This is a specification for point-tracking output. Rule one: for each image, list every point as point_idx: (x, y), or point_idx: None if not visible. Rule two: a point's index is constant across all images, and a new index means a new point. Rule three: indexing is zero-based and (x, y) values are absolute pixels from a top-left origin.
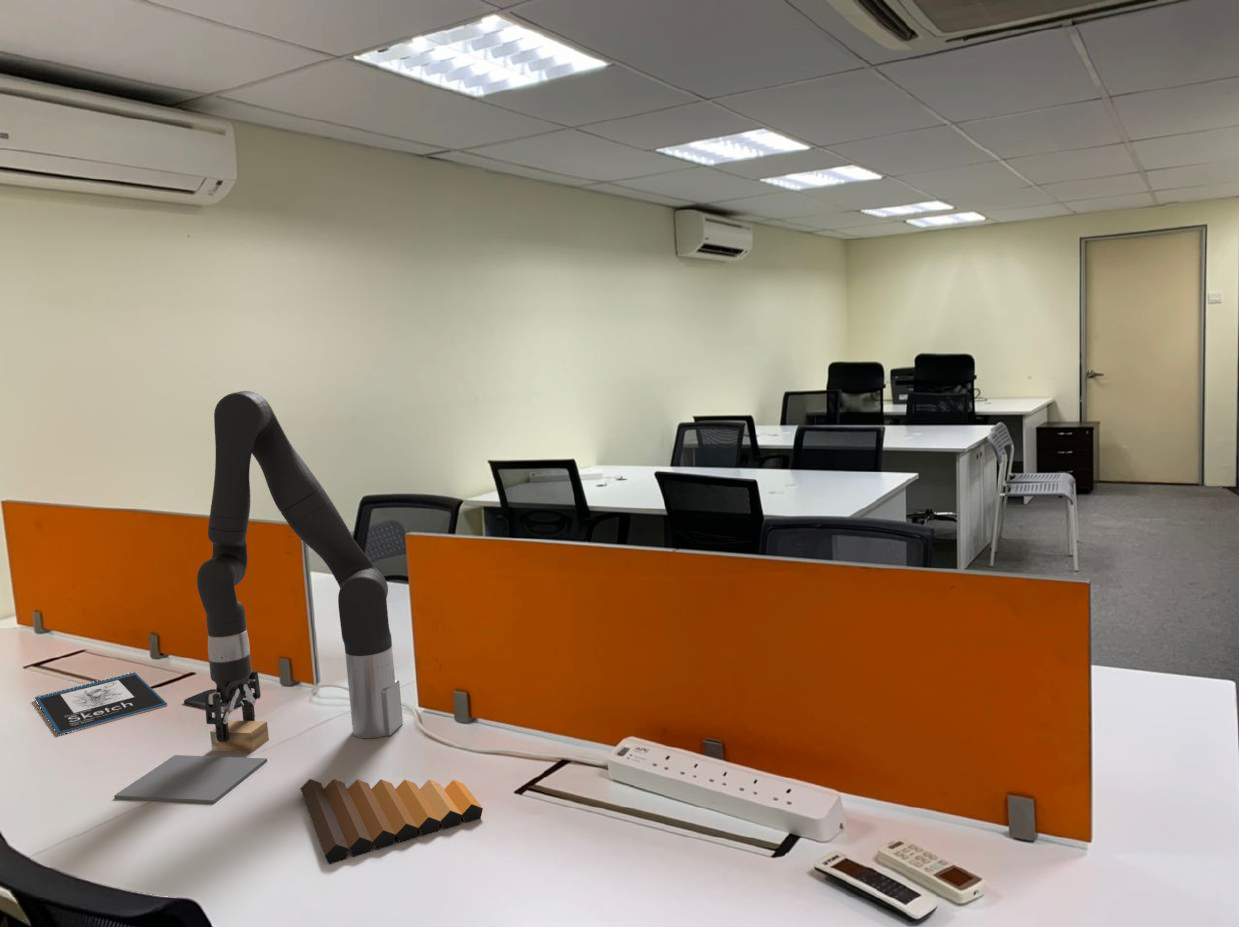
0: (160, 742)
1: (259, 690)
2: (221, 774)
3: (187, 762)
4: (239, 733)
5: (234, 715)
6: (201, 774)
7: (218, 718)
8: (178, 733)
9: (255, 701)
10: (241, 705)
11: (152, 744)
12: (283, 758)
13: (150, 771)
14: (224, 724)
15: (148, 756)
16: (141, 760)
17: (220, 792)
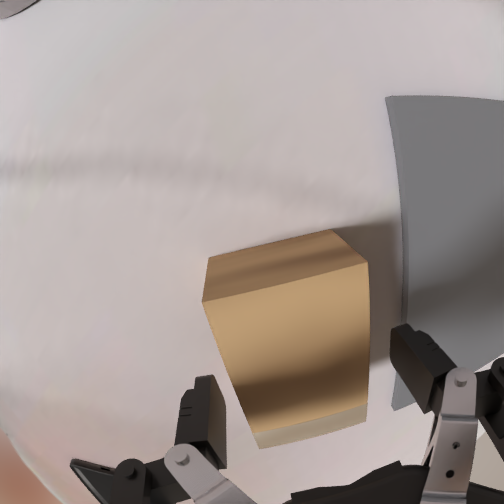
0: (315, 474)
1: (115, 494)
2: (494, 185)
3: None
4: (368, 320)
5: (136, 458)
6: (495, 247)
7: None
8: (267, 481)
9: (168, 456)
10: (99, 466)
11: (326, 475)
12: (342, 47)
13: None
14: (445, 373)
15: (380, 444)
16: (397, 438)
17: None
